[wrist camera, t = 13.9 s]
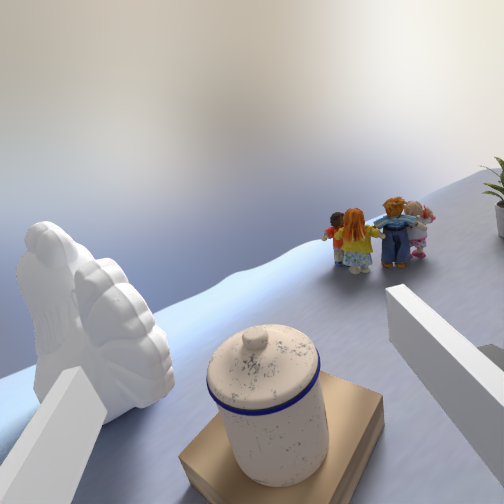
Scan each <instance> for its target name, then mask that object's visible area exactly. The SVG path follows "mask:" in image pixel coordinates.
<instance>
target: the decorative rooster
mask: <svg viewBox="0 0 504 504" xmlns="http://www.w3.org/2000/svg"><path fill="white" fill-rule="evenodd" d="M25 244H26V247H27V249H28V250H27V251H26V252H25V253H24V255H23V256H22V257H21V259H20V261H19V263H18V265H17V269H16V274H17V275H16V277H17V284H18V286H19V289H20V291H21V294H22V296H23V298H24V300H25V302H26V304H27V307H28V309H29V312H30V314H31V317H32V321H33V325H34V330H35V345H36V346H35V348H36V350H35V352H36V354H37V355H39V357H38V361H37V366H36V374H35V380H34V388H33V389H34V392H35V394H36V396H37V398H38V400H39V402H40V404H41V403H42V402H43V400H44V399H45V397H46V396H47V394H48V393H49V391H50V389H51V388H52V386H53V385H54V383H55V382H56V380H57V379H58V377H59V376H60V374H61V373H62V371H63V370H66V369H70V368H74V367H78V366H81V367H82V369H83V371H84V372H85V374H86V376H87V377H88V379H89V381H90V383H91V384H92V386H93V388H94V389H95V391H96V393H97V394H98V396H99V398H100V400H101V401H102V403H103V405H104V406H105V408H106V410H107V411H108V412H107V414H106V417H105V419H104V422H103V424H102V425H104V424H106V423H108V422H110V421H112V420H114V419H115V418H117V417H119V416H120V415H122V414H124V413H125V412H127V411H128V410H130V409H132V408H133V407H138V408H145V407H148V406H150V405H151V404H153V403H156V402H158V401H159V400H160V399H162V398H164V397H166V396H167V394H168V393H169V392H170V391H171V389H172V388H173V387H174V384H175V378H174V371H173V368H172V357H171V354H170V350H169V347H168V339H167V334H166V333H165V332H164V331H163V330H162V329H160V328H159V327H158V326H157V325H156V324H155V319H154V317H153V315H152V313H151V311H150V310H149V308H148V306H147V304H146V302H145V300H144V299H143V298H142V296H141V295H140V294H139V293H138V291H137V290H136V289H135V288H134V287H133V286H132V285H131V284H129V282H128V279H127V277H126V275H125V274H124V272H123V271H122V269H121V268H120V267H119V265H118V264H117V263H116V262H115V261H113V260H112V259H110V258H103V259H98V260H95V259H94V258H93V256H92V255H91V253H90V252H89V251H88V250H87V249H86V248H85V247H83V246H82V245H80V244H78V243H76V242H74V241H73V239H72V238H71V237H70V236H69V235H68V234H66V233H65V232H64V231H63V230H62V229H61V228H60V227H59V226H57V225H55V224H54V223H52V222H47V221H44V222H38V223H36V224H34V225H33V226H31V227H30V228H29V230H28V232H27V234H26V237H25Z"/></svg>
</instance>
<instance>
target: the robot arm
mask: <svg viewBox="0 0 504 504" xmlns="http://www.w3.org/2000/svg"><path fill="white" fill-rule="evenodd" d="M385 290H386V303H387V315H388V328H389V340H390V342H391V343H392V344H393V346H394V347H395V348H396V349H397V351H398V352H399V353H400V355H401V356H402V357H403V358H404V360H405V361H406V362H407V364H408V365H409V366H410V368H411V369H412V370H413V371H414V373H415V374H416V375H417V377H418V378H419V379H420V380H421V382H422V383H423V384H424V386H425V387H426V388H427V389H428V391H429V392H430V393H431V395H432V396H433V397H434V398H435V400H436V401H437V402H438V404H439V405H440V406H441V407H442V409H443V410H444V411H445V413H446V414H447V415H448V416H449V418H450V419H451V420H452V422H453V423H454V424H455V425H456V427H457V428H458V429H459V431H460V432H461V433H462V435H463V436H464V437H465V438H466V440H467V441H468V442H469V444H470V445H471V446H472V447H473V449H474V450H475V451H476V453H477V454H478V455H479V456H480V458H481V459H482V460H483V462H484V463H485V464H486V465H487V467H488V468H489V469H490V471H491V472H492V473H493V474H494V476H495V477H496V478H497V480H498V481H499V482H500V483H501V485H502V486H503V487H504V349H501V348H499V347H497V346H495V345H493V344H489V345H485V346H481V347H477V348H476V347H475V346H474V345H472V344H471V343H470V342H469V341H468V340H467V339H466V338H465V337H463V336H462V335H461V334H460V333H459V332H458V331H457V330H455V329H454V328H453V327H452V326H451V325H450V324H449V323H447V322H446V321H445V320H444V319H443V318H442V317H441V316H439V315H438V314H437V313H436V312H435V311H434V310H433V309H431V308H430V307H429V306H428V305H427V304H426V303H425V302H423V301H422V300H421V299H420V298H419V297H418V296H417V295H415V294H414V293H413V292H412V291H411V290H410V289H409V288H407V287H406V286H405V285H404V284H401V285H397V286H393V287H389V288H385ZM107 412H108V411H107V410H106V408H105V406H104V405H103V403H102V401H101V400H100V398H99V396H98V394H97V393H96V391H95V389H94V388H93V386H92V384H91V383H90V381H89V379H88V377H87V376H86V374H85V372H84V371H83V369H82V367H81V366H78V367H74V368H70V369H66V370H63V371H62V373H61V374H60V376H59V377H58V379H57V380H56V382H55V383H54V385H53V386H52V388H51V389H50V391H49V393H48V394H47V396H46V397H45V399H44V400H43V402H42V403H41V405H40V406H39V408H38V409H37V411H36V413H35V414H34V416H33V417H32V419H31V420H30V422H29V423H28V425H27V426H26V428H25V429H24V431H23V433H22V434H21V436H20V437H19V439H18V440H17V442H16V443H15V445H14V446H13V448H12V449H11V451H10V452H9V454H8V456H7V457H6V459H5V460H4V462H3V463H2V465H1V466H0V504H71V502H72V499H73V497H74V494H75V492H76V489H77V487H78V484H79V482H80V479H81V477H82V474H83V472H84V469H85V467H86V464H87V462H88V459H89V457H90V454H91V452H92V449H93V447H94V444H95V442H96V439H97V437H98V434H99V432H100V429H101V427H102V424H103V422H104V419H105V417H106V414H107Z"/></svg>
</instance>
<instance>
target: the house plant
mask: <svg viewBox="0 0 504 504" xmlns="http://www.w3.org/2000/svg"><path fill="white" fill-rule="evenodd" d="M495 158H496V159H497V161H498V162H499V164H500V165H501V167H502V169H503V171H502V173H501V176H499V175H498V174H497V175H498V176H499V177H500V178H501V181H498V182H500V183H501V182H502V185H503V187H504V161H503V160H501V159H500V158H497V157H495ZM488 169H489V168H488ZM490 170H491V169H490ZM491 171H492V170H491ZM493 172H494V171H493ZM494 173H495V172H494ZM484 184H485V185H488V186H490V187H492V188H493V189H496V190H498V191H500V192H501V193H502V194H503V195H504V188H502V187H500V186H497V185H493V184H488V183H484ZM484 193H486V194H493V195H496V196H498V197H500V198H501V199H502V200H501V201H498V202H496V203H495V210H496V218H497V226H498V234H499V236H500V237H502V238H504V200H503V198H502V197H501V196H500V195H498V194H496V193H494V192H492V191H487V192H484Z"/></svg>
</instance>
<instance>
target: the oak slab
mask: <svg viewBox="0 0 504 504" xmlns="http://www.w3.org/2000/svg"><path fill="white" fill-rule="evenodd" d="M319 375H320V381H321V386H322V392H323V398H324V404H325V410H326V416H327V421H328V427H329V437H330V439H329V447H328V451H327V454H326V456H325V458H324V460H323V462H322V464H321V465H320V467H319V468H318V469H317V470H316V471H315V472H314V473H313V474H312V475H311V476H310V477H308V478H307V479H305V480H304V481H302V482H300V483H297V484H295V485H291V486H287V487H270V486H266V485H262V484H260V483H258V482H256V481H254V480H252V479H251V478H250V477H248V476H247V475H246V474H245V473H244V472H243V471H242V469H241V468H240V466H239V465H238V463H237V461H236V458H235V456H234V453H233V450H232V447H231V444H230V441H229V438H228V435H227V433H226V430H225V427H224V424H223V421H222V418H221V415H220V412H219V413H218V414H217V415H216V416H215V417H214V418H213V419H212V420H211V421H210V422H209V423H208V424H207V426H206V427H205V428H204V429H203V430H202V431H201V432H200V433H199V434H198V435H197V436H196V437H195V438H194V440H193V441H192V442H191V443H190V444H189V445H188V446H187V447H186V448H185V449H184V450H183V451H182V452H181V454H180V455H179V456H178V457H179V459H180V461H181V464H182V466H183V468H184V470H185V473H186V475H187V477H188V479H189V482H190V484H191V485H192V486H193V487H195V488H196V489H197V490H198V491H199V492H200V493H201V494H202V495H203V496H204V497H205V498H206V499H207V500H208V501H209V502H210V503H211V504H349V502H350V500H351V498H352V496H353V493H354V491H355V489H356V487H357V484H358V482H359V480H360V478H361V476H362V473H363V471H364V469H365V467H366V464H367V462H368V460H369V458H370V456H371V453H372V451H373V449H374V447H375V444H376V442H377V440H378V438H379V436H380V433H381V431H382V429H383V427H384V424H385V423H384V409H383V396H382V395H381V394H379V393H376V392H374V391H371V390H369V389H366V388H363V387H361V386H358V385H356V384H353V383H351V382H348V381H345V380H343V379H340V378H338V377H335V376H333V375H330V374H327V373H325V372H322V371H320V372H319Z"/></svg>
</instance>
